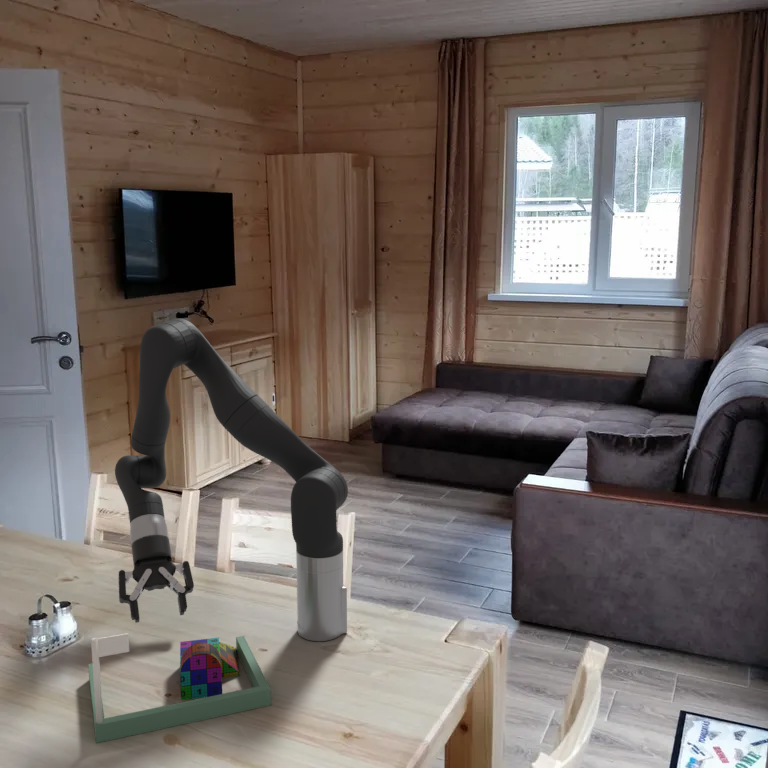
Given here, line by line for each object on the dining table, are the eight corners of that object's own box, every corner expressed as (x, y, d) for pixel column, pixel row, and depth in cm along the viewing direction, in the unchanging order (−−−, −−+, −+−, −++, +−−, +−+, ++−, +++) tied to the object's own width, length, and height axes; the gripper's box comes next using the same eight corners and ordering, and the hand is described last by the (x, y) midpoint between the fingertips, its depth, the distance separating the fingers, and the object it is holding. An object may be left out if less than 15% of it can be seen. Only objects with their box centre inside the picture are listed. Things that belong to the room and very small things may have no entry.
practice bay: (244, 650, 157) (241, 566, 154) (270, 705, 139) (268, 611, 136) (89, 679, 146) (83, 590, 143) (96, 743, 128) (89, 642, 125)
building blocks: (241, 694, 142) (240, 648, 141) (181, 701, 140) (179, 655, 139) (236, 651, 157) (234, 610, 155) (181, 658, 154) (179, 615, 153)
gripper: (114, 538, 163) (122, 616, 154) (187, 528, 168) (199, 604, 160) (113, 554, 168) (121, 630, 160) (183, 544, 174) (195, 618, 165)
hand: (160, 617), depth 160 cm, fingers open, 8 cm apart
